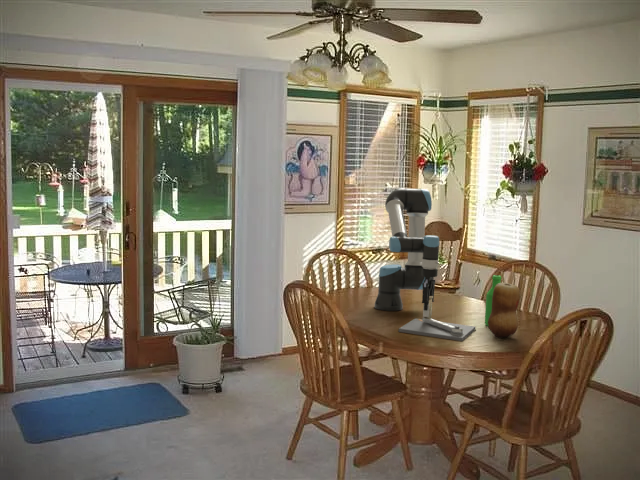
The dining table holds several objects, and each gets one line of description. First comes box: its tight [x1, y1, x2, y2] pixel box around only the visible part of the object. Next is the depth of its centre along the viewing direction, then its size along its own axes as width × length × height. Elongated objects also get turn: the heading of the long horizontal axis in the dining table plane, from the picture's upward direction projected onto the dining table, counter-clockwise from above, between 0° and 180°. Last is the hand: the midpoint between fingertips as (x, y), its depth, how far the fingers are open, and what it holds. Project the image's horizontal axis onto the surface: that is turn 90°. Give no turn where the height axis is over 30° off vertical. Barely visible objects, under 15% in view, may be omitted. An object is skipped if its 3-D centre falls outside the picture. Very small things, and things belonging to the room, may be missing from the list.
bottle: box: [484, 274, 502, 327], centre depth 334 cm, size 9×9×25 cm
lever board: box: [398, 318, 476, 342], centre depth 322 cm, size 30×24×2 cm
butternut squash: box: [487, 282, 521, 339], centre depth 313 cm, size 14×13×25 cm
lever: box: [422, 295, 463, 334], centre depth 320 cm, size 27×5×13 cm, turn 29°
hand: (427, 315), depth 330 cm, fingers closed on lever, 4 cm apart
